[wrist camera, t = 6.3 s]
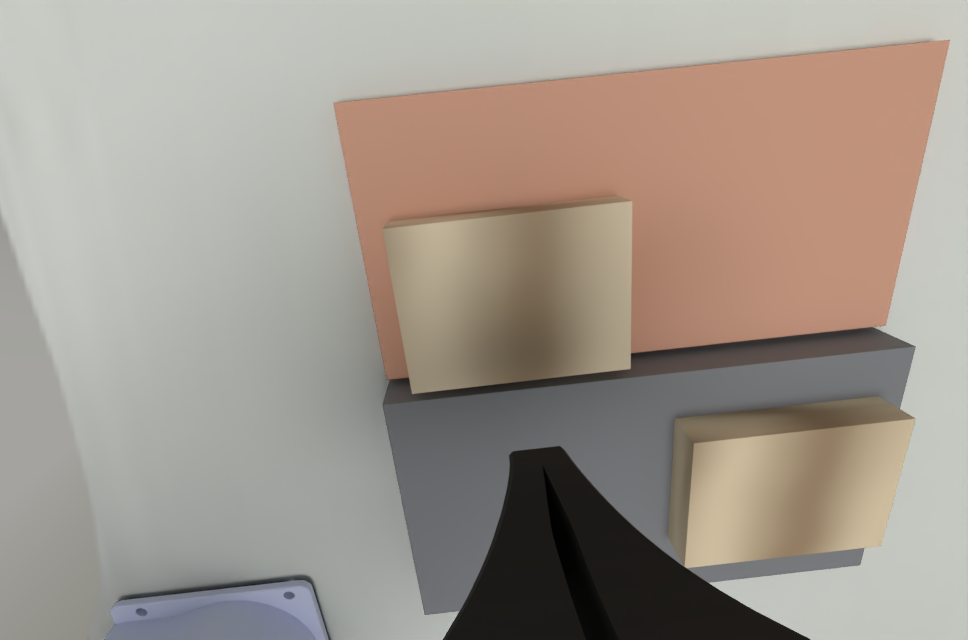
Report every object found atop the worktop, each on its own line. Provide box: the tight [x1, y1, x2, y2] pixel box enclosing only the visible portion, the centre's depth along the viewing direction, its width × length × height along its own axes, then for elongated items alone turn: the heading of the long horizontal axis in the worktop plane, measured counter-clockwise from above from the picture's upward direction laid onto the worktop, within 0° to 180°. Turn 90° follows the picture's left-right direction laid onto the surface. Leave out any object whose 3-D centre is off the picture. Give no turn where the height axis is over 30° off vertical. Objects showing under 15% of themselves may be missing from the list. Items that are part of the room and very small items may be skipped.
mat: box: [334, 40, 950, 380], centre depth 17 cm, size 20×10×1 cm, turn 96°
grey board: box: [383, 327, 915, 615], centre depth 20 cm, size 20×11×2 cm, turn 96°
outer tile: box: [668, 396, 915, 568], centre depth 19 cm, size 8×6×2 cm
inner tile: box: [382, 196, 632, 394], centre depth 17 cm, size 8×6×2 cm
